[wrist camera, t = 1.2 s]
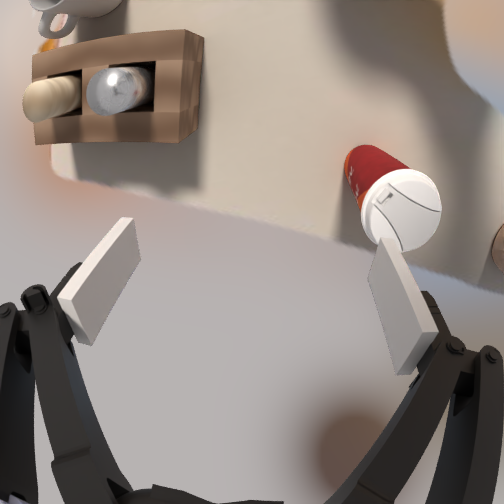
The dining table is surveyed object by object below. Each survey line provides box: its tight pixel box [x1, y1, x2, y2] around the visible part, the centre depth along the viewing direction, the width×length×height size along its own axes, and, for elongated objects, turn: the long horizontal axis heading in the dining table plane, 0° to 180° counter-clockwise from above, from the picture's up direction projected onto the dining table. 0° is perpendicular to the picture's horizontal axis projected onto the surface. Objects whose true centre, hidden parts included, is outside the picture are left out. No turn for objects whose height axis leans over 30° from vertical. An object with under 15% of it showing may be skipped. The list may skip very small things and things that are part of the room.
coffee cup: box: [344, 145, 442, 253], centre depth 30 cm, size 8×8×15 cm
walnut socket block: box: [32, 29, 204, 145], centre depth 29 cm, size 12×20×8 cm, turn 84°
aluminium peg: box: [86, 67, 156, 116], centre depth 25 cm, size 4×4×8 cm
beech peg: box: [23, 74, 82, 123], centre depth 25 cm, size 4×4×8 cm
